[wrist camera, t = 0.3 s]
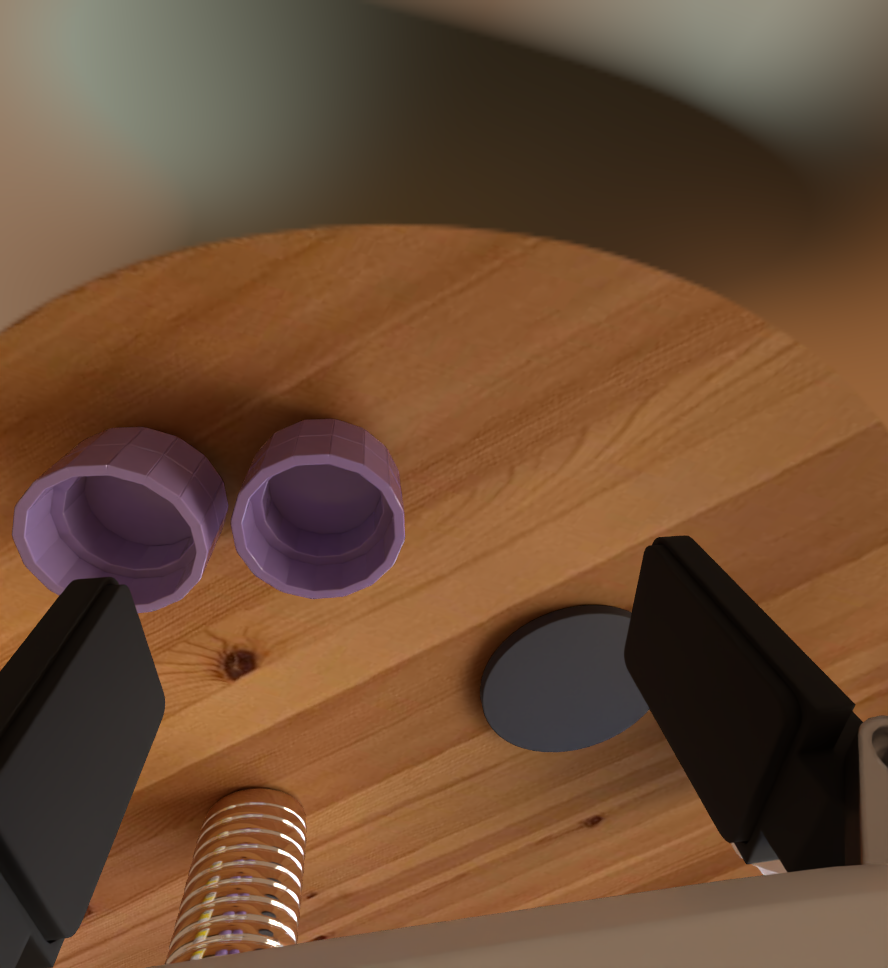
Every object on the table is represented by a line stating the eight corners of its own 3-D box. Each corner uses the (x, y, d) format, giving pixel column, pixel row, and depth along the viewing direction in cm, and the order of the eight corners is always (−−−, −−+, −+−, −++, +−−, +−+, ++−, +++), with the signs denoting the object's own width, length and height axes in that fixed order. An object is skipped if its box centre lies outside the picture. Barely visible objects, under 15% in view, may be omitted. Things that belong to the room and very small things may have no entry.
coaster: (483, 613, 31) (486, 622, 30) (679, 596, 33) (686, 605, 32) (476, 751, 37) (479, 762, 36) (644, 732, 38) (650, 742, 37)
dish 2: (241, 417, 24) (216, 459, 20) (396, 411, 25) (401, 449, 21) (264, 546, 27) (247, 604, 23) (401, 537, 28) (407, 592, 24)
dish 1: (48, 425, 23) (-17, 470, 19) (215, 418, 24) (185, 460, 20) (94, 558, 26) (47, 620, 22) (241, 548, 27) (220, 606, 23)
